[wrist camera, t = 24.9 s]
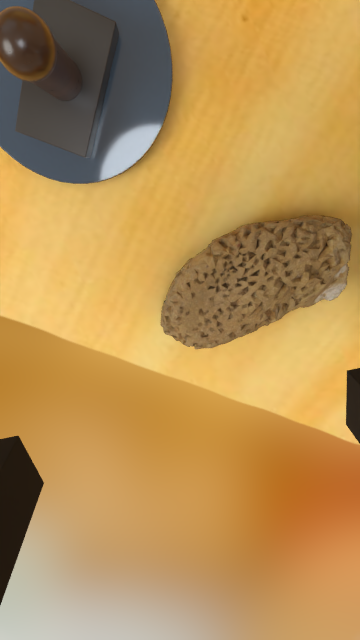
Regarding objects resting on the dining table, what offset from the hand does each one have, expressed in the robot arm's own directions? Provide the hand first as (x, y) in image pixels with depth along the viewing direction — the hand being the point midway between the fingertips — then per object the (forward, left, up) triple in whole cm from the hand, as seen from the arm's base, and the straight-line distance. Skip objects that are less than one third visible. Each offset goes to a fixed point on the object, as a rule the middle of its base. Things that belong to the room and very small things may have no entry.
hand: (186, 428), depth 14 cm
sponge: (-8, +4, -27) cm, 28 cm away
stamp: (+5, -17, -25) cm, 31 cm away
